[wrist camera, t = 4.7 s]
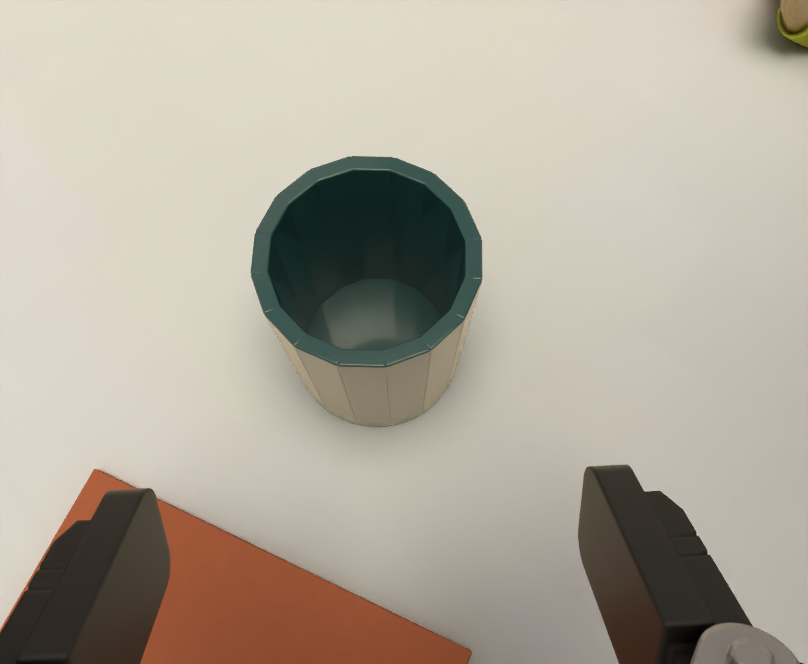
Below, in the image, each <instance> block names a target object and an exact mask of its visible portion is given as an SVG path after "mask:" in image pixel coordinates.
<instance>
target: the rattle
mask: <svg viewBox="0 0 808 664" xmlns="http://www.w3.org/2000/svg"><path fill="white" fill-rule="evenodd" d="M780 3H781V6H780V8H779V10H778V11H777V16H776V17H777V24H778V28H779V30H780V31H781V33H782V34H783V35H784V36H785V37H787V38H788V39H790V40H792V41H794V42H796V43H799V44H800V45H802V46H805V47H808V0H781V2H780Z"/></svg>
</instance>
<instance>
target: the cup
mask: <svg viewBox="0 0 808 664" xmlns="http://www.w3.org/2000/svg"><path fill="white" fill-rule="evenodd" d="M251 278H252V280H253V283H254V286H255V289H256V292H257V295H258V298H259V301H260V304H261V307H262V310H263V313H264V315H265V317H266V318H267V320H268V322H269V324H270V326H271V327H272V329H273V331H274V333H275V334H276V336H277V338H278V340H279V341H280V343H281V345H282V347H283V348H284V350H285V352H286V354H287V356H288V357H289V359H290V361H291V363H292V364H293V366H294V368H295V370H296V371H297V373H298V375H299V377H300V378H301V380H302V382H303V384H304V385H305V387H306V388H307V389H308V390H309V391H310V393H311V394H312V395H313V397H314V398H315V399H316V400H317V401H318V402H319V403H320V404H321V405H322V406H323V407H324V408H325V409H326V410H328V411H329V412H331V413H332V414H333V415H335V416H337V417H339V418H341V419H343V420H345V421H348V422H351V423H354V424H358V425H362V426H372V427H382V426H391V425H396V424H400V423H403V422H406V421H409V420H411V419H413V418H415V417H417V416H419V415H420V414H422V413H424V412H425V411H426V410H428V409H429V408H430V407H431V406H433V405H434V404H435V403H436V402H437V400H438V399H439V398H440V397H441V396H442V395H443V393H444V392H445V390H446V389H447V387H448V385H449V384H450V382H451V380H452V377H453V375H454V372H455V369H456V367H457V365H458V362H459V359H460V356H461V352H462V349H463V345H464V342H465V338H466V335H467V331H468V328H469V324H470V321H471V318H472V314H473V311H474V307H475V304H476V300H477V297H478V293H479V290H480V286H481V283H482V240H481V236H480V234H479V231H478V229H477V227H476V225H475V223H474V220H473V218H472V216H471V214H470V212H469V210H468V207H467V205H466V203H465V202H464V201H463V199H462V198H461V197H459V196H458V195H457V194H456V193H455V192H454V191H453V190H452V189H451V188H450V187H449V186H447V185H446V184H445V183H444V182H443V181H442V180H441V179H440V178H439V177H438V176H436V175H435V174H433V173H432V172H430V171H428V170H425V169H423V168H420V167H417V166H415V165H412V164H410V163H407V162H405V161H402V160H400V159H397V158H393V157H365V156H352V157H346V158H343V159H340V160H337V161H334V162H331V163H328V164H325V165H322V166H319V167H316V168H313V169H310V170H309V171H307V172H306V173H305V174H303V175H302V176H301V177H299V178H298V179H297V180H296V181H294V182H293V183H292V184H291V185H289V186H288V187H287V188H286V189H284V190H283V191H282V192H280V193H279V194H278V195H277V197H275V199H274V201H273V202H272V204H271V206H270V208H269V209H268V211H267V213H266V214H265V216H264V218H263V220H262V221H261V223H260V225H259V227H258V228H257V230H256V233H255V237H254V246H253V255H252V265H251Z"/></svg>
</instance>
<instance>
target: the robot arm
mask: <svg viewBox="0 0 808 664" xmlns="http://www.w3.org/2000/svg"><path fill="white" fill-rule="evenodd" d="M578 540H579V549H580V555H581V559H582V563H583V566H584V569H585V571H586V574H587V577H588V580H589V582H590V585H591V588H592V590H593V593H594V596H595V599H596V601H597V604H598V607H599V610H600V612H601V615H602V618H603V621H604V623H605V626H606V629H607V632H608V634H609V637H610V640H611V642H612V645H613V648H614V651H615V653H616V656H617V659H618V662H619V664H803V663H800V662H798V660H797V658H796V657H795V656H794V654H793V653H792V652H791V651H790V650H789V649H788V648H787V647H786V646H785V645H784V644H783V643H782V642H780V641H779V640H778V639H776V638H775V637H773V636H772V635H770V634H768V633H767V632H764V631H762V630H760V629H758V628H755V627H753V626H752V624H751V623H750V621H749V619H748V618H747V616H746V614H745V613H744V611H743V609H742V608H741V606H740V604H739V603H738V601H737V599H736V598H735V596H734V594H733V593H732V591H731V589H730V588H729V586H728V584H727V583H726V581H725V579H724V578H723V576H722V574H721V573H720V571H719V569H718V567H717V566H716V564H715V562H714V561H713V559H712V557H711V556H710V555H708V554H707V549H706V547H705V546H704V544H703V542H702V541H701V539H700V537H699V536H697V535H696V531H695V529H694V527H693V526H692V524H691V522H690V521H689V519H688V517H687V516H686V514H685V512H684V511H683V509H682V508H680V507H679V506H678V505H677V504H675V503H674V502H673V501H672V500H671V499H669V498H668V497H667V496H666V495H664V494H663V493H662V492H661V491H650V492H644V491H643V489H642V487H641V485H640V483H639V481H638V480H637V478H636V476H635V474H634V472H633V470H632V469H631V467H630V466H628V465H610V466H591V467H587V468H586V470H585V473H584V480H583V490H582V499H581V509H580V518H579V528H578ZM169 576H170V551H169V546H168V542H167V538H166V534H165V530H164V526H163V522H162V518H161V514H160V510H159V506H158V502H157V498H156V495H155V493H154V491H153V490H152V489H150V488H146V489H127V490H110V491H108V492H106V493H105V495H104V496H103V498H102V500H101V502H100V503H99V505H98V507H97V509H96V511H95V513H94V515H93V516H92V518H91V520H78V521H76V522H75V523H74V524H73V525H72V526H71V527H70V528H68V529H67V530H66V531H65V532H64V533H63V534H62V535H61V536H60V537H58V538H57V539H56V540H55V541H54V542H53V544H52V545H51V547H50V549H49V550H48V552H47V554H46V556H45V557H44V559H43V561H42V562H41V564H40V569H39V571H36V573H35V574H34V576H33V578H32V579H31V581H30V583H29V585H28V590H27V591H24V593H23V595H22V597H21V598H20V600H19V602H18V603H17V605H16V607H15V609H14V610H13V612H12V614H11V615H10V617H9V619H8V620H7V622H6V624H5V626H4V627H3V629H2V631H1V632H0V664H140V663H141V660H142V657H143V654H144V651H145V648H146V645H147V643H148V640H149V637H150V634H151V631H152V628H153V625H154V623H155V620H156V617H157V614H158V611H159V608H160V605H161V603H162V600H163V597H164V594H165V591H166V588H167V585H168V581H169Z"/></svg>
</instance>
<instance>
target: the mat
mask: <svg viewBox="0 0 808 664" xmlns="http://www.w3.org/2000/svg"><path fill="white" fill-rule="evenodd" d="M127 489H137V488H135V487H133V486H131V485H128V484H126V483H124V482H122V481H120V480H118V479H116V478H114V477H112V476H110V475H108V474H106V473H104V472H102V471H100V470H97V469H94V470H93V472H92V474H91V476H90V477H89V479H88V481H87V482H86V484H85V486H84V488H83V489H82V491H81V493H80V494H79V496H78V498H77V500H76V501H75V503H74V505H73V506H72V508H71V510H70V511H69V513H68V515H67V517H66V518H65V520H64V522H63V523H62V525H61V527H60V529H59V530H58V532H57V534H56V535H55V537H54V539H53V540H52V542H51V544H50V546H49V547H48V549H47V551H46V552H45V554H44V556H43V558H42V559H41V561H40V563H39V564H38V566H37V568H36V569H35V571H34V573H33V575H32V576H31V578H30V580H29V581H28V583H27V585H26V587H25V588H24V590H23V592H22V593H21V595H20V597H19V599H18V600H17V602H16V604H15V605H14V607H13V609H12V610H11V612H10V614H9V616H8V617H7V619H6V621H5V622H4V624H3V626H2V628H1V629H0V632H1V631H2V629H3V627H4V626H5V624H6V622H7V620H8V619H9V617H10V615H11V614H12V612H13V610H14V609H15V607H16V605H17V603H18V602H19V600H20V598H21V597H22V595H23V593H24V591H27V590H28V585H29V583H30V581H31V579H32V578H33V576H34V574H35V573H36V571H39V569H40V564H41V562H42V561H43V559H44V557H45V556H46V554H47V552H48V550H49V549H50V547H51V545H52V544H53V542H54V541H55V540H56V539H57V538H58V537H60V536H61V535H62V534H63V533H64V532H65V531H66V530H67V529H68V528H70V527H71V526H72V525H73V524H74V523H75V522H76V521H78V520H91V518H92V516H93V515H94V513H95V511H96V509H97V507H98V505H99V503H100V502H101V500H102V498H103V496H104V495H105V493H106V492H108V491H110V490H127ZM157 502H158V506H159V510H160V514H161V518H162V522H163V526H164V530H165V534H166V538H167V542H168V546H169V551H170V576H169V581H168V585H167V588H166V591H165V594H164V597H163V600H162V603H161V605H160V608H159V611H158V614H157V617H156V620H155V623H154V625H153V628H152V631H151V634H150V637H149V640H148V643H147V645H146V648H145V651H144V654H143V657H142V660H141V663H140V664H467V663H468V661H469V658H470V655H471V651H470V650H469V649H467V648H465V647H463V646H460V645H458V644H456V643H454V642H452V641H450V640H448V639H446V638H444V637H442V636H440V635H438V634H436V633H434V632H432V631H430V630H427V629H425V628H423V627H421V626H419V625H417V624H415V623H413V622H411V621H409V620H407V619H405V618H403V617H401V616H399V615H397V614H394V613H392V612H390V611H388V610H386V609H384V608H382V607H380V606H378V605H376V604H374V603H372V602H370V601H368V600H366V599H364V598H361V597H359V596H357V595H355V594H353V593H351V592H349V591H347V590H345V589H343V588H341V587H339V586H337V585H335V584H333V583H331V582H329V581H326V580H324V579H322V578H320V577H318V576H316V575H314V574H312V573H310V572H308V571H306V570H304V569H302V568H300V567H298V566H296V565H293V564H291V563H289V562H287V561H285V560H283V559H281V558H279V557H277V556H275V555H273V554H271V553H269V552H267V551H265V550H263V549H260V548H258V547H256V546H254V545H252V544H250V543H248V542H246V541H244V540H242V539H240V538H238V537H236V536H234V535H232V534H230V533H227V532H225V531H223V530H221V529H219V528H217V527H215V526H213V525H211V524H209V523H207V522H205V521H203V520H201V519H199V518H197V517H194V516H192V515H190V514H188V513H186V512H184V511H182V510H180V509H178V508H176V507H174V506H172V505H170V504H168V503H166V502H164V501H161V500H159V499H157Z"/></svg>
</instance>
